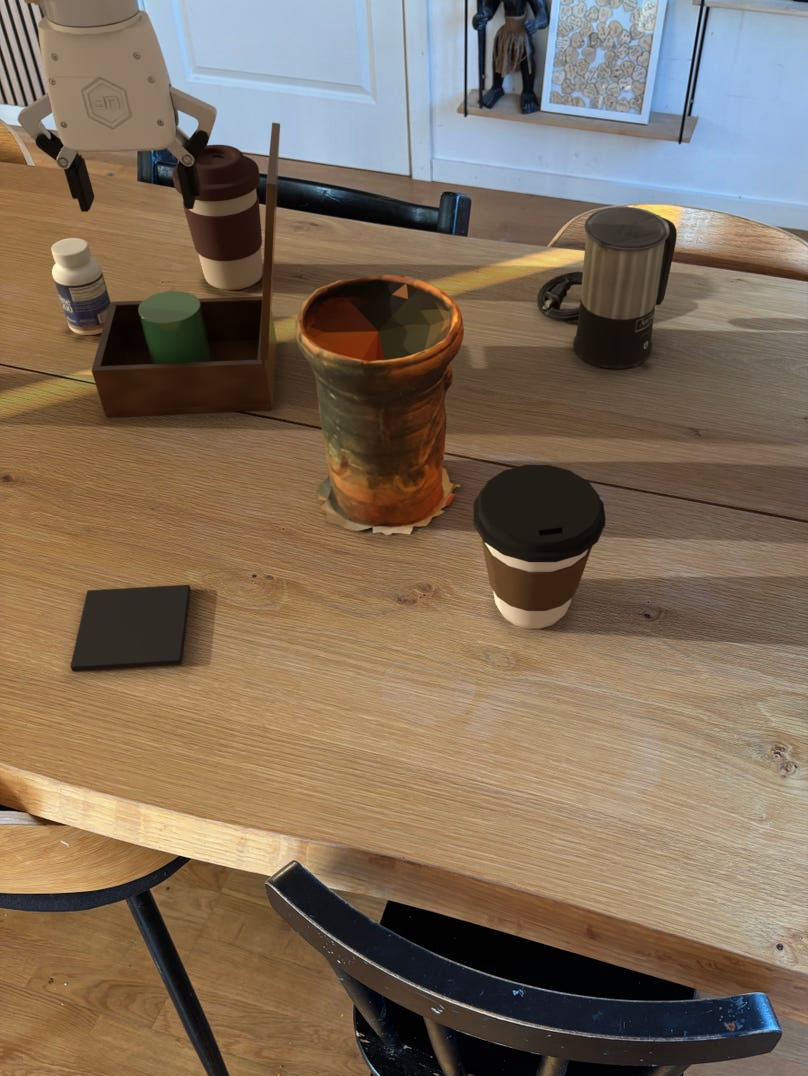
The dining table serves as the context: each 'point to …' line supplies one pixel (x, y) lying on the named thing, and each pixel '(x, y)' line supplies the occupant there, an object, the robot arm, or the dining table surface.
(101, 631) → the mat
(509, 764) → the dining table surface
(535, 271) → the dining table surface
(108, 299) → the pill bottle
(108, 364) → the chest
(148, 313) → the green cylinder
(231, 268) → the coffee cup
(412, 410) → the vessel
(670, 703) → the dining table surface
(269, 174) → the lid
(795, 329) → the dining table surface
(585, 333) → the milk frother
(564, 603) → the coffee cup
